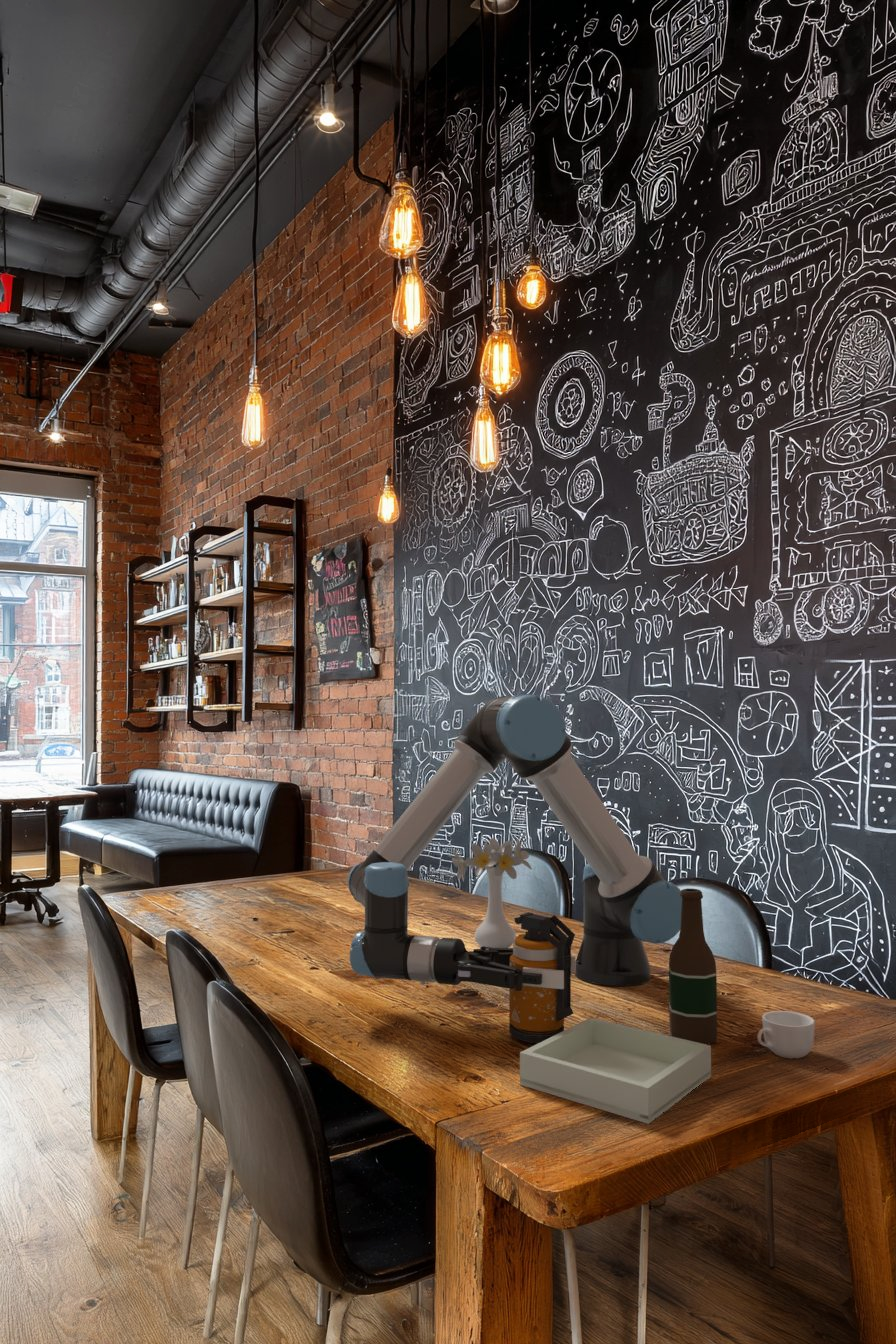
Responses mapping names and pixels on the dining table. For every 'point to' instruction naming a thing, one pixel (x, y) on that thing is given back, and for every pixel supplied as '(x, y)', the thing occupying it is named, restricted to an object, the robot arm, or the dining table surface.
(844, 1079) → the dining table surface
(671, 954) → the beer bottle
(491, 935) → the flower vase
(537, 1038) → the canister
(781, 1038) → the teacup
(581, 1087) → the tray
